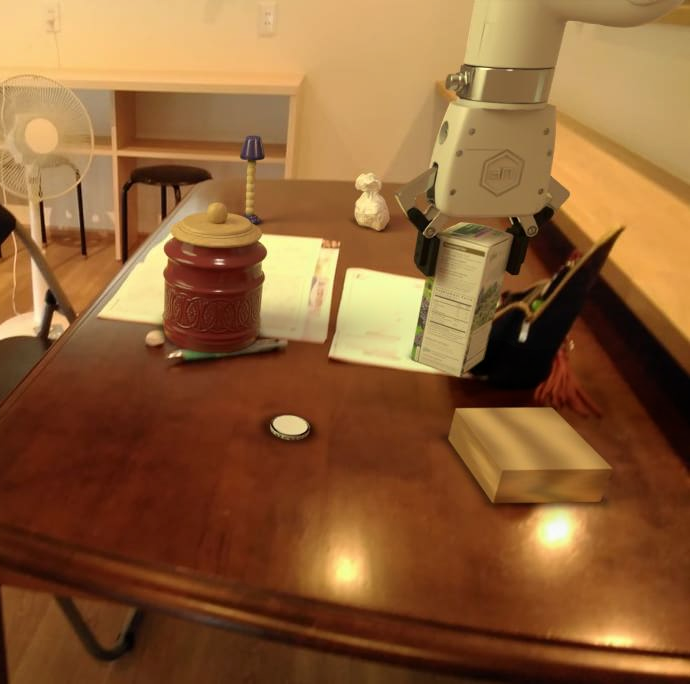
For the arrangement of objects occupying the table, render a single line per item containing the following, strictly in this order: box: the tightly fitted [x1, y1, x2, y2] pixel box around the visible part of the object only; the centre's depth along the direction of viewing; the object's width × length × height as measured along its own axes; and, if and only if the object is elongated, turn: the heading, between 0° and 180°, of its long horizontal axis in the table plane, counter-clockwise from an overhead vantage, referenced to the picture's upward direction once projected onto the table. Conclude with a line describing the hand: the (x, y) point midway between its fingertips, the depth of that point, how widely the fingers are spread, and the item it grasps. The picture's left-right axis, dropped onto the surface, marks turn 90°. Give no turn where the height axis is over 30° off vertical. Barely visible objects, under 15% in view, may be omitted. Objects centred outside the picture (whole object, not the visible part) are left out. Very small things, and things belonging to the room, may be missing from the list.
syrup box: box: [410, 221, 514, 378], centre depth 71 cm, size 6×6×14 cm
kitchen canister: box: [162, 201, 268, 354], centre depth 87 cm, size 13×13×18 cm
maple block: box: [447, 406, 614, 504], centre depth 65 cm, size 10×10×4 cm
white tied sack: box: [354, 172, 391, 232], centre depth 134 cm, size 12×8×11 cm
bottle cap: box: [269, 414, 311, 441], centre depth 71 cm, size 4×4×1 cm
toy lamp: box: [239, 135, 266, 226], centre depth 132 cm, size 5×5×17 cm
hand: (466, 270), depth 69 cm, fingers closed on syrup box, 8 cm apart
